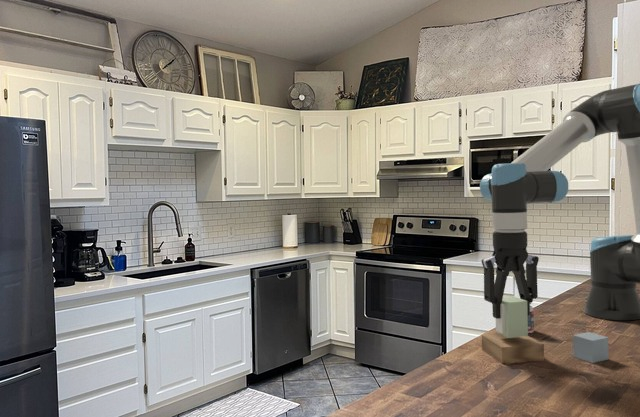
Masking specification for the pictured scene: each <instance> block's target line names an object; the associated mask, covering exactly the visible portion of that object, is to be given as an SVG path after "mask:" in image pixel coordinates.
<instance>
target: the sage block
mask: <svg viewBox="0 0 640 417" xmlns="http://www.w3.org/2000/svg"><path fill="white" fill-rule="evenodd" d="M517 297H518V296H507V297H505V296H504V297H503V299H502V303H501V304H503V305H505V333H503V334H502V333H500V332H498V331H496V330H495V332H496V334H501V335H503V336H505V337H508V338H512V337H520V336H529V333H528V316H527V301H526V300H523V299H520V298H517Z"/></svg>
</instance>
